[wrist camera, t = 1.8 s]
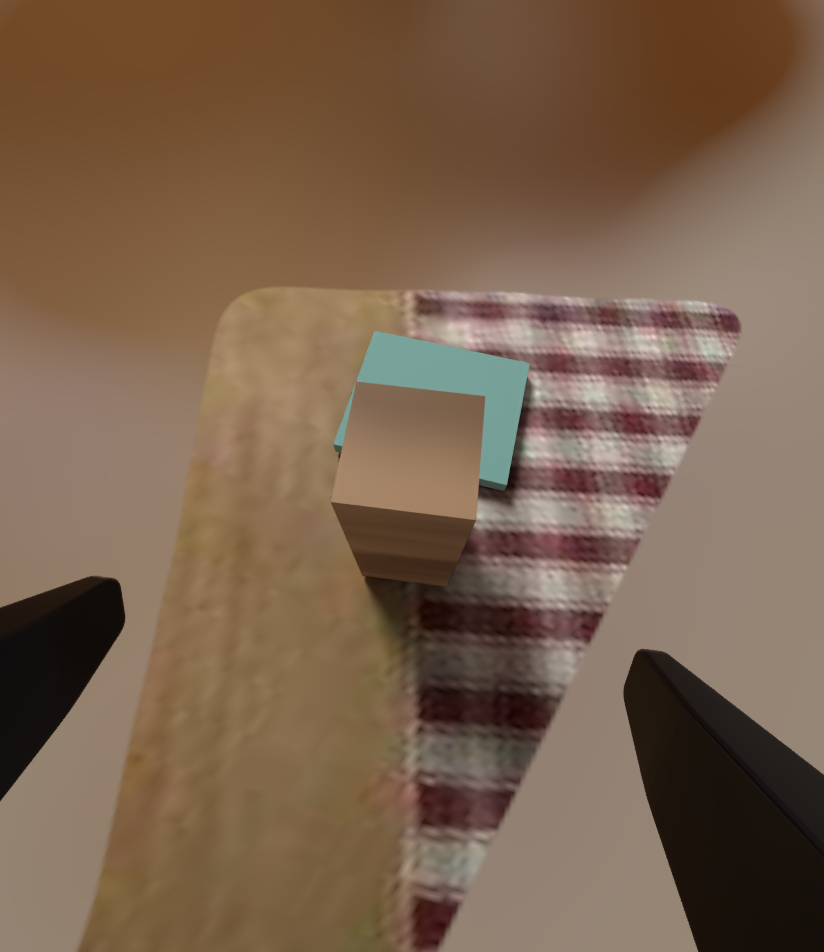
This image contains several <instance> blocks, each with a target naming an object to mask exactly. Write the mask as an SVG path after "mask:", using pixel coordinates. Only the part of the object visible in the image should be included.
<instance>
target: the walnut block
mask: <svg viewBox="0 0 824 952" xmlns="http://www.w3.org/2000/svg"><path fill="white" fill-rule="evenodd" d="M484 409H485V396H480V395H471V394H462V393H454V392H445V391H436V390H427V389H418V388H410V387H401V386H392V385H383V384H375V383H366V382H357V381H356V385H355V389H354V394H353V399H352V404H351V408H350V413H349V418H348V423H347V427H346V432H345V437H344V441H343V446H342V451H341V456H340V460H339V465H338V470H337V474H336V479H335V484H334V489H333V493H332V498H331V504H332V506H333V508H334V511H335V513H336V515H337V518H338V520H339V522H340V525H341V527H342V529H343V532H344V534H345V536H346V539H347V541H348V543H349V546H350V548H351V550H352V553H353V555H354V557H355V560H356V562H357V564H358V566H359V569H360V571H361V573H362V576H368V577H376V578H383V579H391V580H399V581H406V582H414V583H421V584H429V585H437V586H444V587H447V585H448V583H449V580H450V578H451V576H452V574H453V571H454V569H455V567H456V565H457V562H458V560H459V558H460V555H461V553H462V551H463V549H464V546H465V544H466V542H467V539H468V537H469V535H470V533H471V530H472V528H473V526H474V524H475V521H476V514H477V501H478V488H479V474H480V461H481V448H482V435H483V422H484Z"/></svg>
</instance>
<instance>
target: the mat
mask: <svg viewBox="0 0 824 952" xmlns="http://www.w3.org/2000/svg"><path fill="white" fill-rule="evenodd" d="M529 364H530V363H525V362H521V361H516V360H511V359H506V358H502V357H497V356H492V355H487V354H483V353H478V352H473V351H468V350H464V349H459V348H454V347H449V346H445V345H440V344H435V343H430V342H426V341H421V340H416V339H411V338H407V337H402V336H397V335H392V334H388V333H383V332H378V331H375V332H374V334H373V337H372V340H371V343H370V345H369V348H368V351H367V354H366V356H365V359H364V362H363V365H362V367H361V370H360V373H359V375H358V378H357V382H366V383H375V384H383V385H392V386H401V387H410V388H418V389H427V390H436V391H445V392H454V393H462V394H471V395H480V396H485V409H484V422H483V435H482V448H481V461H480V474H479V485H481V486H485V487H489V488H493V489H497V490H502V491H504V490H505V488H506V486H507V482H508V476H509V471H510V466H511V460H512V455H513V450H514V444H515V439H516V434H517V428H518V423H519V417H520V412H521V407H522V401H523V396H524V391H525V385H526V380H527V375H528V369H529ZM355 385H356V384H355ZM354 389H355V386H354ZM354 389H353V392H352V395H351V397H350V400H349V403H348V406H347V408H346V411H345V414H344V417H343V419H342V422H341V425H340V428H339V430H338V433H337V436H336V439H335V441H334V447H335V451H337V452H341V451H342V446H343V441H344V437H345V432H346V427H347V423H348V418H349V413H350V408H351V404H352V399H353V394H354Z"/></svg>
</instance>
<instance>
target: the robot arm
mask: <svg viewBox="0 0 824 952" xmlns="http://www.w3.org/2000/svg"><path fill="white" fill-rule="evenodd" d="M124 623H125V611H124V604H123V598H122V592H121V586H120V583H119V582H118V581H117V580H116V579H114V578H109V577H102V576H90V577H86V578H83V579H81V580H78V581H75V582H72V583H69V584H66V585H64V586H61V587H58V588H55V589H52V590H49V591H46V592H43V593H41V594H38V595H35V596H32V597H29V598H26V599H23V600H21V601H18V602H15V603H12V604H9V605H6V606H3V607H1V608H0V801H1V800H2V798H3V797H4V795H6V793H7V792H8V791H9V789H10V788H11V787H12V786H13V784H14V783H15V782H16V780H17V779H18V778H19V776H20V775H21V774H22V773H23V771H24V770H25V769H26V767H27V766H28V765H29V764H30V762H31V761H32V760H33V758H34V757H35V756H36V754H37V753H38V752H39V751H40V749H41V748H42V747H43V746H44V744H45V743H46V742H47V740H48V739H49V738H50V736H51V735H52V734H53V733H54V731H55V730H56V729H57V727H58V726H59V725H60V723H61V722H62V721H63V719H64V718H65V717H66V715H67V714H68V713H69V711H70V710H71V708H72V707H73V705H74V704H75V702H76V701H77V700H78V698H79V697H80V695H81V693H82V692H83V690H84V689H85V687H86V686H87V684H88V683H89V681H90V679H91V678H92V676H93V675H94V673H95V671H96V670H97V668H98V667H99V665H100V664H101V662H102V661H103V659H104V658H105V656H106V654H107V653H108V651H109V649H110V648H111V647H112V645H113V643H114V642H115V640H116V639H117V637H118V636H119V634H120V633H121V631H122V629H123V626H124ZM624 702H625V707H626V711H627V715H628V720H629V724H630V728H631V733H632V737H633V741H634V746H635V750H636V754H637V759H638V763H639V767H640V772H641V776H642V780H643V784H644V788H645V792H646V796H647V799H648V802H649V805H650V809H651V811H652V815H653V818H654V821H655V824H656V827H657V830H658V833H659V836H660V839H661V842H662V845H663V848H664V851H665V854H666V857H667V860H668V863H669V866H670V868H671V872H672V875H673V878H674V880H675V884H676V887H677V890H678V893H679V896H680V898H681V902H682V904H683V907H684V911H685V913H686V916H687V919H688V922H689V925H690V928H691V931H692V934H693V937H694V940H695V943H696V946H697V949H698V952H824V775H823V774H822V773H821V772H820V771H818V770H817V769H816V768H814V767H813V766H812V765H811V764H809V763H808V762H807V761H805V760H804V759H803V758H801V757H800V756H799V755H798V754H796V753H795V752H794V751H792V750H791V749H790V748H789V747H787V746H786V745H785V744H783V743H782V742H781V741H779V740H778V739H777V738H776V737H774V736H773V735H772V734H770V733H769V732H768V731H767V730H765V729H764V728H763V727H761V726H760V725H759V724H758V723H756V722H755V721H754V720H752V719H751V718H750V717H749V716H747V715H746V714H745V713H743V712H742V711H741V710H740V709H738V708H737V707H736V706H734V705H733V704H732V703H730V702H729V701H728V700H727V699H725V698H724V697H723V696H721V695H720V694H719V693H718V692H716V691H715V690H714V689H712V688H711V687H710V686H708V685H707V684H706V683H704V682H703V681H702V680H701V679H699V678H698V677H697V676H696V675H694V674H693V673H692V672H690V671H689V670H688V669H687V668H685V667H684V666H682V665H681V664H680V663H679V662H678V661H676V660H675V659H674V658H672V657H671V656H670V655H668V654H667V653H665V652H662V651H656V650H648V649H640V650H638V651H637V652H636V654H635V656H634V659H633V661H632V664H631V667H630V670H629V673H628V676H627V679H626V682H625V685H624Z"/></svg>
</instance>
